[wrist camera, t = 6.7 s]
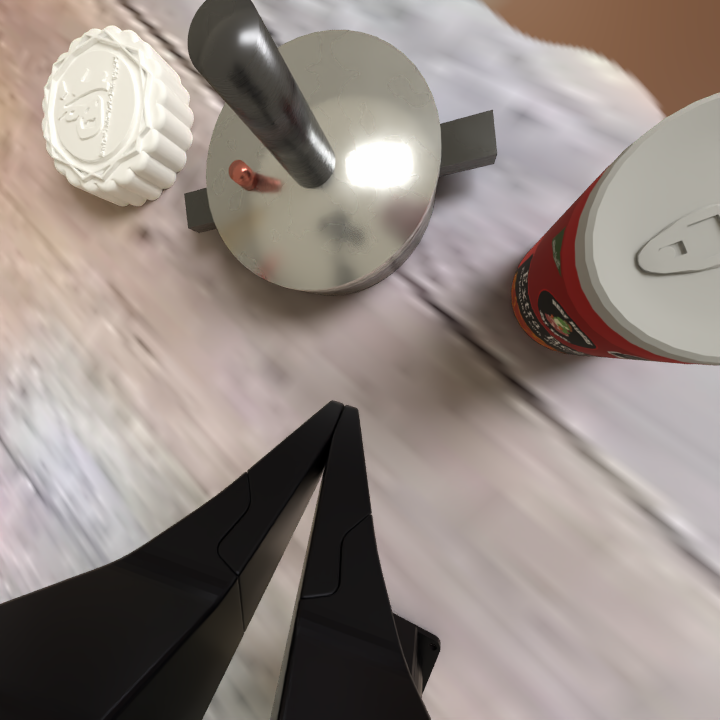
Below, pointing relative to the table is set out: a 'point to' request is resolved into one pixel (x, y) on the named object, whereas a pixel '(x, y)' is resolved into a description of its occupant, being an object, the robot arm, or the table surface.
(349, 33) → the cooker lid
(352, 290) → the cooker pot
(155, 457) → the table surface
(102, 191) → the mooncake
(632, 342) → the canned food
